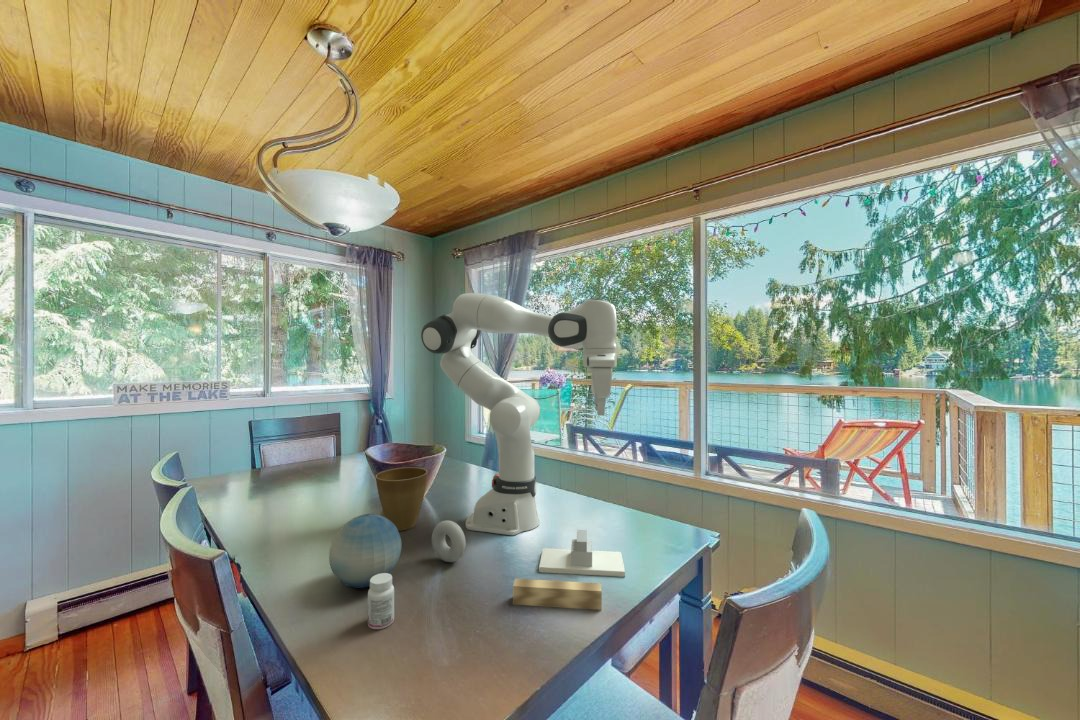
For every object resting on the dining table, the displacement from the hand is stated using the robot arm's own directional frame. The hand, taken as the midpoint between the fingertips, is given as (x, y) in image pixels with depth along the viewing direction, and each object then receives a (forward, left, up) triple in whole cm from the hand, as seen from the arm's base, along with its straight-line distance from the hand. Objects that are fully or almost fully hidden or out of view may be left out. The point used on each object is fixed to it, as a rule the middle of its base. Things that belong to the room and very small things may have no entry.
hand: (599, 412), depth 110 cm
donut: (-38, -10, -36) cm, 53 cm away
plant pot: (-59, +10, -36) cm, 70 cm away
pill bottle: (-43, -35, -36) cm, 66 cm away
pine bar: (-10, -25, -37) cm, 45 cm away
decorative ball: (-53, -22, -36) cm, 68 cm away
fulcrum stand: (-5, -8, -36) cm, 37 cm away
